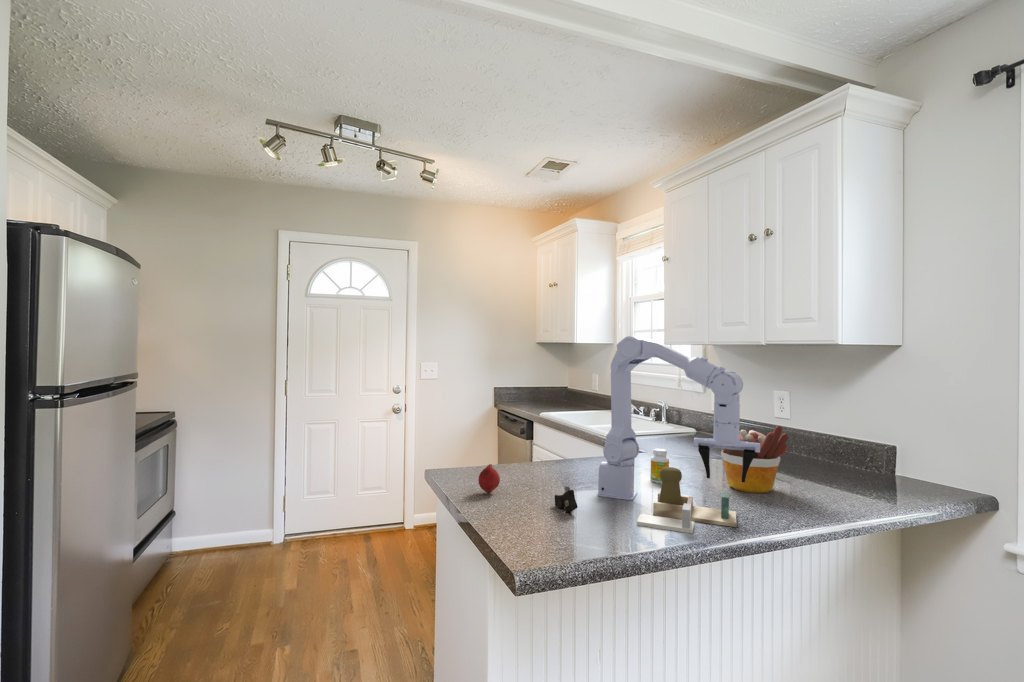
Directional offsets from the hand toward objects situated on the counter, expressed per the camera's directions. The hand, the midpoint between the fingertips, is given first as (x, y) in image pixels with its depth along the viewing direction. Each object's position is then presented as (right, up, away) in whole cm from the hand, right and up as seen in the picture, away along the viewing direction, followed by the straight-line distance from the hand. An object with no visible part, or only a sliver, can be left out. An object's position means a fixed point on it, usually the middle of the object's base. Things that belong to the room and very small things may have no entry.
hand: (725, 479), depth 121 cm
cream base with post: (-16, -9, -6) cm, 19 cm away
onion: (-58, -9, +17) cm, 61 cm away
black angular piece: (-38, -9, +4) cm, 39 cm away
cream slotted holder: (-6, -9, +2) cm, 11 cm away
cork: (-12, -10, +5) cm, 16 cm away
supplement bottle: (-5, -11, +36) cm, 37 cm away
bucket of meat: (+20, -11, +29) cm, 37 cm away
